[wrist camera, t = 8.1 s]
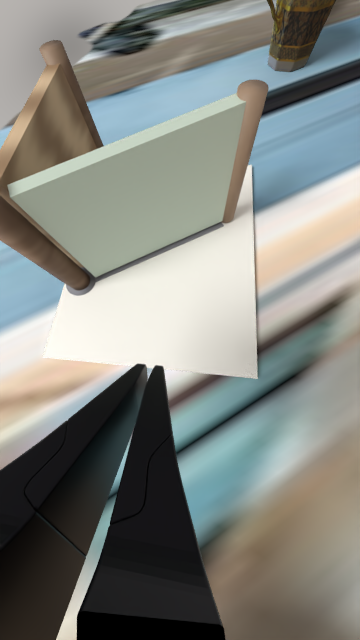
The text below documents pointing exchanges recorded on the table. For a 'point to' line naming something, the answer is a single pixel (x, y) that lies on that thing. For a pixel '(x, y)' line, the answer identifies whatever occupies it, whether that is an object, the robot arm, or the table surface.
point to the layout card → (171, 305)
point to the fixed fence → (46, 160)
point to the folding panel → (148, 184)
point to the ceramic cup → (296, 31)
